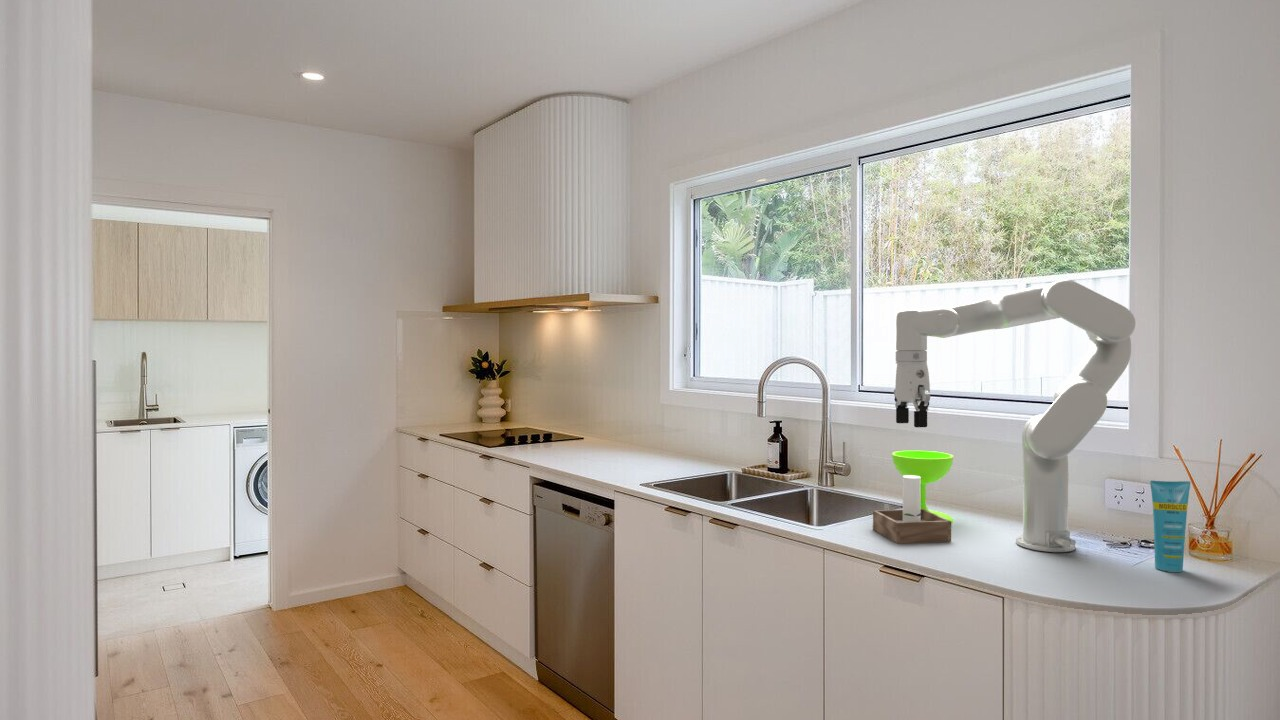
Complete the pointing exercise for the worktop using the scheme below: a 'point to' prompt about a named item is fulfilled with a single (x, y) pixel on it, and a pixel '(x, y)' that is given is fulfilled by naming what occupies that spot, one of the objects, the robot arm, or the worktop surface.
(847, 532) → the worktop surface
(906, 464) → the wineglass
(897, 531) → the open wooden box
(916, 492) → the tube
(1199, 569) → the worktop surface
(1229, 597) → the worktop surface
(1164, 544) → the tube
